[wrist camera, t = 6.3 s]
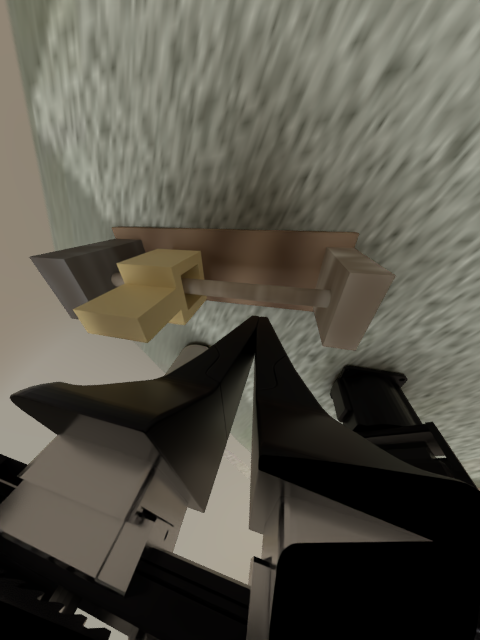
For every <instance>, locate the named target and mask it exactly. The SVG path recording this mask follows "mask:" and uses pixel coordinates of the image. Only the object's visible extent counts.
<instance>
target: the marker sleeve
mask: <svg viewBox="0 0 480 640" xmlns="http://www.w3.org/2000/svg"><path fill="white" fill-rule="evenodd" d="M116 264H117V266H118V269H119V271H120V273H121V276H122V278H123V281H124V283H125V284H123V285H121V286H119V287H117V288H115V289H113V290H111V291H109V292H107V293H105V294H103V295H101V296H99V297H97V298H95V299H93V300H91V301H89V302H87V303H85V304H83V305H81V306H79V307H77V308H75V309H73V311H74V312H75V314H76V315H77V317H78V318H79V320H80V321H81V323H82V324H83V326H84V327H85V329H86V330H87V332H88V333H91V334H98V335H103V336H110V337H115V338H121V339H127V340H133V341H139V342H145V343H148V342H149V341H150V340H151V339H152V338H153V337H154V336H155V335H156V334H157V333H158V332H159V331H160V330H161V329H162V328H163V327H164V326H165V325H166V324H167V323H173V324H180V325H186V323H187V322H188V321H189V320H190V319H191V317H192V316H193V315H194V314H195V313H196V311H197V310H198V309H199V308H200V307H201V305H202V304H203V303H204V302H205V301H206V299H207V296H205V295H195V294H185V293H184V290H183V285H182V280H181V278H189V279H201V280H204V273H203V265H202V257H201V251H192V250H172V249H156V250H153V251H150V252H147V253H144V254H141V255H139V256H136V257H133V258H130V259H127V260H124V261H122V262H119V263H116Z"/></svg>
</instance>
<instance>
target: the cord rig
mask: <svg viewBox="0 0 480 640" xmlns="http://www.w3.org/2000/svg"><path fill="white" fill-rule="evenodd" d="M112 230H113V233H114V235H115V238H116V239H112V240H108V241H103V242H98V243H93V244H88V245H84V246H79V247H74V248H69V249H64V250H60V251H55V252H50V253H46V254H41V255H36V256H31V257H30V259H31V260H32V262H33V263H34V265H35V266H36V267H37V269H38V270H39V272H40V273H41V275H42V276H43V278H44V279H45V280H46V282H47V283H48V285H49V286H50V288H51V289H52V291H53V292H54V293H55V295H56V296H57V298H58V299H59V301H60V302H61V304H62V305H63V306H64V308H65V309H66V311H67V312H68V314H69V315H70V317H71V318H73V319H79V318H78V317H77V315H76V314H75V312H74V311H73V309H75V308H77V307H79V306H81V305H83V304H85V303H87V302H89V301H91V300H93V299H95V298H97V297H99V296H101V295H103V294H105V293H107V292H109V291H111V290H113V289H115V288H117V287H119V286H121V285H123V284H125V283H124V281H123V278H122V276H121V273H120V271H119V269H118V266H117V264H116V263H119V262H122V261H124V260H127V259H130V258H133V257H136V256H139V255H141V254H144V253H147V252H150V251H153V250H156V249H172V250H192V251H201V257H202V265H203V273H204V280H201V279H189V278H181V280H182V285H183V290H184V293H185V294H195V295H205V296H207V299H206V300H209V301H219V302H228V303H237V304H247V305H256V306H265V307H275V308H284V309H293V310H303V311H312V312H314V314H315V318H316V322H317V326H318V330H319V334H320V338H321V342H322V346H326V347H333V348H340V349H347V350H354V351H356V349H357V347H358V345H359V343H360V341H361V340H362V338H363V336H364V334H365V332H366V330H367V328H368V326H369V325H370V323H371V321H372V319H373V317H374V315H375V313H376V312H377V310H378V308H379V306H380V304H381V302H382V300H383V298H384V297H385V295H386V293H387V291H388V289H389V287H390V285H391V284H392V282H393V280H394V278H395V275H394V274H392V273H391V272H389V271H388V270H386V269H385V268H383V267H382V266H380V265H379V264H377V263H376V262H374V261H373V260H371V259H370V258H368V257H367V256H365V255H364V254H362V253H361V252H359V251H358V250H356V249H355V248H354V247H355V244H356V242H357V239H358V236H359V233H357V232H327V231H283V230H240V229H197V228H153V227H112Z"/></svg>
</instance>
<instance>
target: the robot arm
mask: <svg viewBox="0 0 480 640" xmlns="http://www.w3.org/2000/svg"><path fill="white" fill-rule="evenodd" d="M254 355H255V364H254V394H253V424H252V454H251V484H250V486H251V487H250V513H249V514H250V516H249V529H250V530H252V531H255V532H258V533H260V534H263V545H262V559H260V558H257V557H255V556H254V557H252V558H251V563H250V573H249V583H248V585H247V584H244V583H242V582H240V581H237V580H235V579H233V578H230V577H228V576H226V575H223V574H221V573H218V572H216V571H214V570H211V569H209V568H207V567H205V566H202V565H200V564H197V563H195V562H193V561H191V560H188V559H186V558H183V557H181V556H178V555H177V554H174V553H173V550H174V547H175V544H176V541H177V537H178V534H179V531H180V527H181V525H182V522H183V519H184V515H185V513H186V510H187V507H189V508H191V509H194V510H197V511H200V512H202V513H204V512H205V509H206V506H207V503H208V500H209V496H210V494H211V490H212V487H213V484H214V481H215V478H216V475H217V471H218V469H219V465H220V462H221V459H222V456H223V453H224V450H225V447H226V443H227V440H228V437H229V434H230V431H231V428H232V425H233V422H234V418H235V415H236V412H237V409H238V406H239V403H240V400H241V396H242V393H243V390H244V387H245V384H246V381H247V378H248V375H249V371H250V368H251V365H252V362H253V359H254ZM407 380H408V379H407V377H406V376H405V375H404V374H398V373H392V372H386V371H379V370H373V369H366V368H360V367H354V366H345V367H344V368H343V370H342V372H341V374H340V376H339V378H338V379H336V381H335V383H334V385H333V387H332V389H331V393H330V396H331V398H332V399H333V402H334V406H335V410H336V415H337V419H338V420H339V421H340V422H343V424H341V423H340V422H338V421H336V420H335V419H333V418H332V417H331V416H330V415H329V414H328V413H327V412H326V411H325V410H324V409H323V408H322V407H321V406H320V404H319V403H318V402H317V400H316V399H315V397H314V396H313V394H312V393H311V392H310V390H309V389H308V387H307V386H306V385H305V383H304V382H303V380H302V379H301V377H300V376H299V375H298V373H297V372H296V370H295V368H294V367H293V365H292V363H291V361H290V359H289V357H288V356H287V354H286V352H285V350H284V348H283V346H282V344H281V342H280V340H279V338H278V336H277V335H276V333H275V331H274V329H273V327H272V325H271V323H270V321H269V319H268V318H267V317H259V316H251V317H250V318H248V319H247V320H246V321H244V322H243V323H242V324H240V325H239V326H238V327H236V328H235V329H234V330H233V331H231V332H230V333H229V334H227V335H226V336H225V337H223V338H222V339H221V340H219V341H218V342H217V343H215V344H214V345H213V346H211V347H210V348H209V349H207V350H206V351H204V352H203V353H201V354H200V355H198V356H197V357H195V358H194V359H192V360H190V361H189V362H187V363H185V364H184V365H182V366H180V367H179V368H177V369H175V370H174V371H172V372H170V373H169V374H167V375H165V376H163V377H160V378H157V379H153V380H146V381H134V382H125V383H115V384H104V385H87V386H82V385H72V384H68V383H63V382H53V383H46V384H40V385H36V386H32V387H29V388H26V389H23V390H20V391H18V392H16V393H14V394H12V395H11V396H10V399H11V401H12V402H13V403H14V404H15V405H16V406H18V407H19V408H20V409H21V410H23V411H24V412H26V413H27V414H28V415H30V416H32V417H33V418H34V419H36V420H37V421H38V422H40V423H41V424H43V425H44V426H46V427H47V428H48V429H50V430H51V431H53V432H54V433H55V434H57V436H56V437H55V438H54V439H53V440H52V441H51V442H50V443H49V444H48V445H47V446H46V447H45V448H44V450H42V451H41V452H40V453H39V455H37V456H36V457H35V458H34V460H32V461H31V462H30V463H29V464H28V465H27V464H24V463H22V462H19V461H17V460H14V459H11V458H9V457H7V456H4V455H2V454H0V640H108V639H109V636H110V633H111V631H109V630H108V629H106V628H90V629H88V628H86V627H84V624H85V622H86V620H87V617H85V616H83V615H82V614H77V615H75V614H74V613H75V611H76V610H77V608H79V609H81V610H83V611H85V612H87V613H88V614H90V615H92V616H93V617H95V618H97V619H99V620H100V621H102V622H104V623H106V624H107V625H109V626H111V627H113V628H115V629H116V630H118V631H120V632H122V633H124V634H125V635H127V636H128V640H480V491H479V490H478V488H477V487H476V485H475V484H474V482H473V481H472V479H471V478H470V476H469V475H468V473H467V472H466V470H465V469H464V467H463V466H462V464H461V463H460V461H459V460H458V458H457V457H456V455H455V454H454V452H453V451H452V449H451V448H450V446H449V445H448V443H447V442H446V440H445V439H444V437H443V436H442V434H441V433H440V432H439V430H438V429H437V427H436V426H435V424H434V423H433V422H426V424H422V422H421V421H420V419H419V417H418V416H417V414H416V412H415V411H414V409H413V408H412V406H411V404H410V403H409V401H408V399H407V398H406V396H405V395H404V393H403V391H402V390H401V387H402V386H403V384H404V383H405V382H406V381H407ZM435 456H446V458H436V457H435Z"/></svg>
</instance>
